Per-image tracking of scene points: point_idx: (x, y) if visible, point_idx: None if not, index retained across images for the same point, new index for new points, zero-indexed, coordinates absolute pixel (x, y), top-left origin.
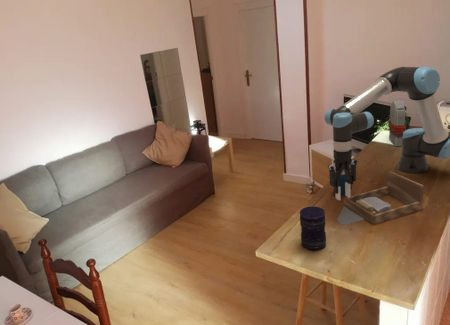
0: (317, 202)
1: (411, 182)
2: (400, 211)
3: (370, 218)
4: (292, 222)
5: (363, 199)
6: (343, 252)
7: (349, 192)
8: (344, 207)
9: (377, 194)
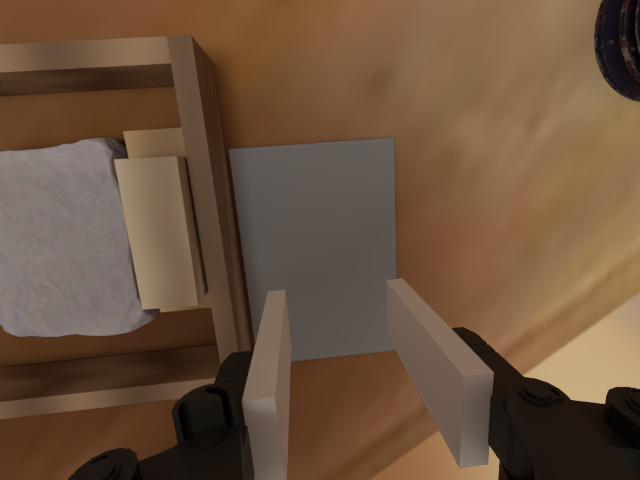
0: (372, 442)
1: None
2: None
3: (208, 90)
4: (609, 299)
5: (121, 322)
6: None
7: (275, 318)
8: None
9: None
